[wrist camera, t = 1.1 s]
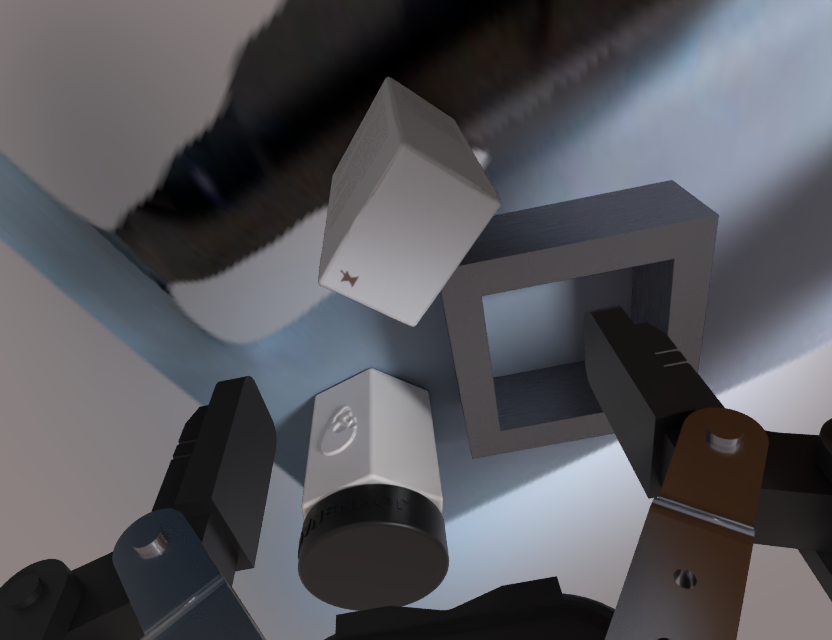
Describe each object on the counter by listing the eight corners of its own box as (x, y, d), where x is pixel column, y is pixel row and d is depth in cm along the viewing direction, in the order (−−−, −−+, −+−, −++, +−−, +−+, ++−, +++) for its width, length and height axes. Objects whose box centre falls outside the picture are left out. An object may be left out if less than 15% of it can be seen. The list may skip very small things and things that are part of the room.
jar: (397, 349, 36) (408, 498, 26) (454, 424, 41) (481, 578, 31) (287, 405, 38) (257, 563, 28) (351, 471, 43) (345, 630, 33)
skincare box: (399, 212, 31) (412, 334, 21) (331, 175, 30) (311, 286, 20) (459, 116, 28) (507, 204, 18) (388, 70, 27) (398, 138, 17)
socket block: (672, 180, 31) (718, 214, 27) (657, 369, 39) (691, 419, 35) (428, 228, 32) (437, 270, 28) (461, 405, 39) (472, 458, 35)
